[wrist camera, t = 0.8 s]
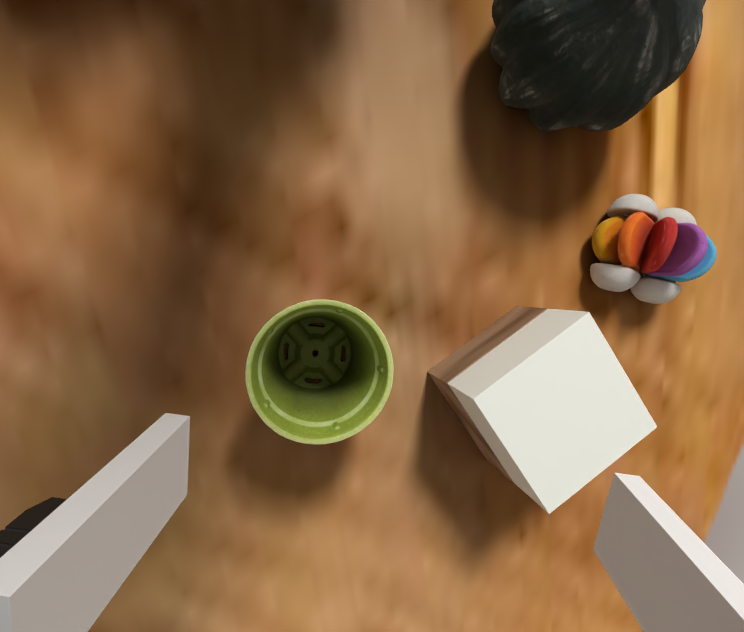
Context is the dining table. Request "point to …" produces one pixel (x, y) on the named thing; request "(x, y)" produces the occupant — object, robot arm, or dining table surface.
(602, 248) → the rainbow petal cluster
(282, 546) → the dining table surface
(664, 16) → the squash
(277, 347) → the plant pot
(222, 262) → the dining table surface
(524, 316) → the walnut base block
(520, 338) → the pale top block
